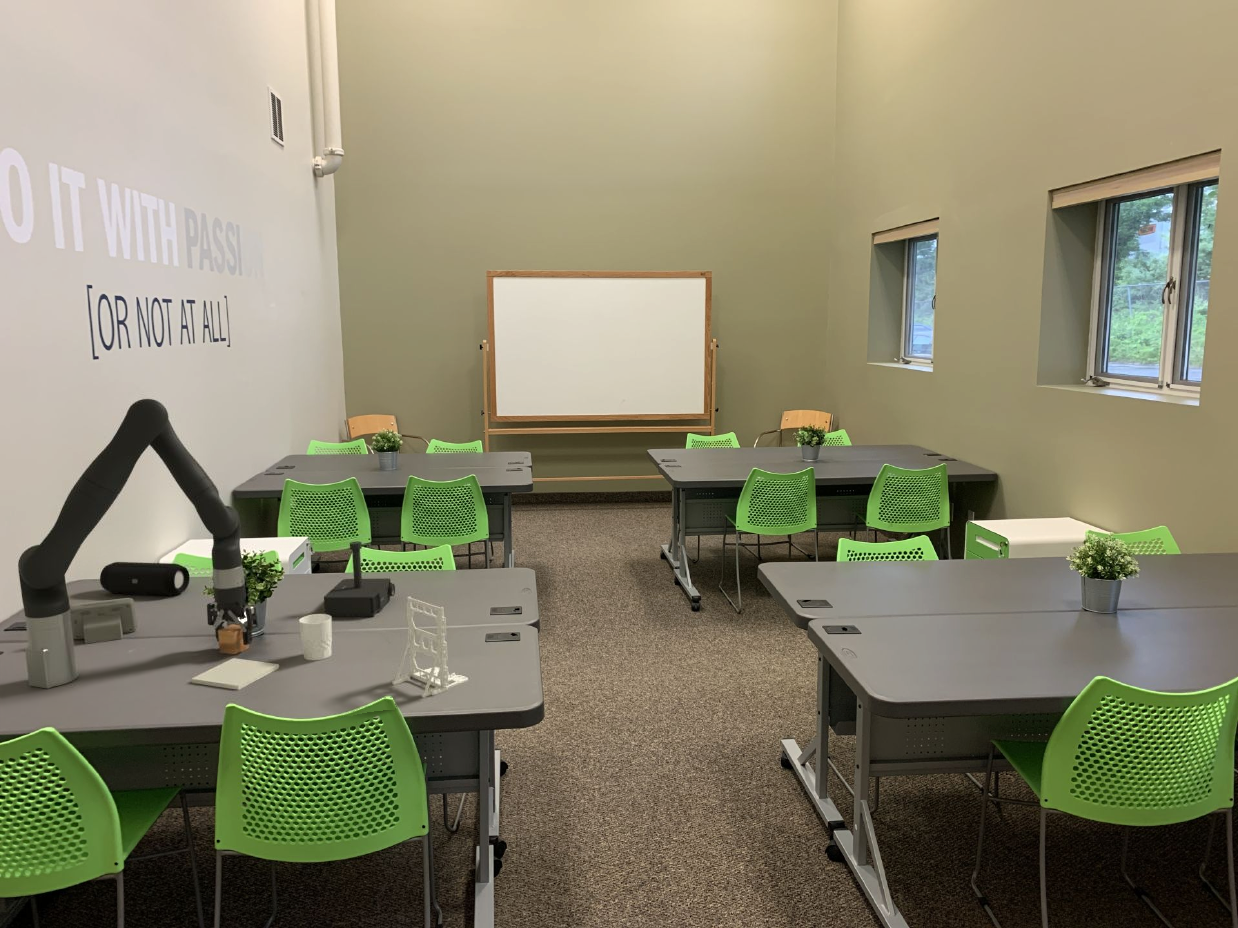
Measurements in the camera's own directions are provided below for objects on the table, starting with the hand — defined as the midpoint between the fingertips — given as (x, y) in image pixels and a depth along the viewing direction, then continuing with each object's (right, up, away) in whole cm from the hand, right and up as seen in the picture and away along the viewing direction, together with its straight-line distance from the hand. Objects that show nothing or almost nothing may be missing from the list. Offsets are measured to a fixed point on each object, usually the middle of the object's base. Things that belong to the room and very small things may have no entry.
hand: (234, 642), depth 243 cm
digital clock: (-41, -1, +12) cm, 42 cm away
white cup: (+24, -3, -5) cm, 24 cm away
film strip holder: (+56, -5, -23) cm, 61 cm away
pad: (+8, -5, -17) cm, 19 cm away
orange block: (0, -2, 0) cm, 2 cm away
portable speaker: (-50, +5, +52) cm, 72 cm away
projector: (+24, +4, +35) cm, 42 cm away
